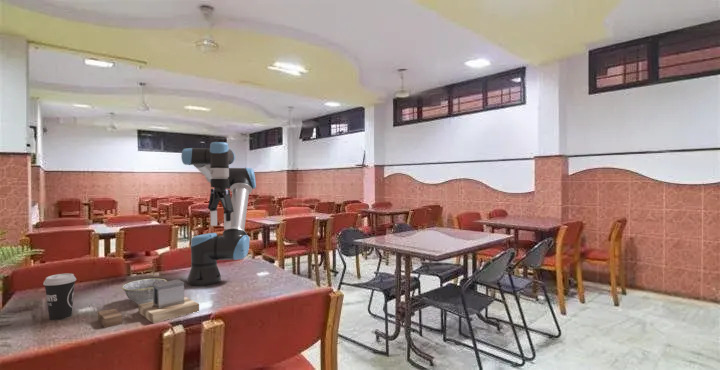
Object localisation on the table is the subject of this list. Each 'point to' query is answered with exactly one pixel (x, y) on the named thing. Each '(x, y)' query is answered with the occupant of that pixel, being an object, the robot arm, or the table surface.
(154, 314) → the plate
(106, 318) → the stand
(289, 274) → the table surface
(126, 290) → the bowl
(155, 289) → the housing
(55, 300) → the coffee cup
